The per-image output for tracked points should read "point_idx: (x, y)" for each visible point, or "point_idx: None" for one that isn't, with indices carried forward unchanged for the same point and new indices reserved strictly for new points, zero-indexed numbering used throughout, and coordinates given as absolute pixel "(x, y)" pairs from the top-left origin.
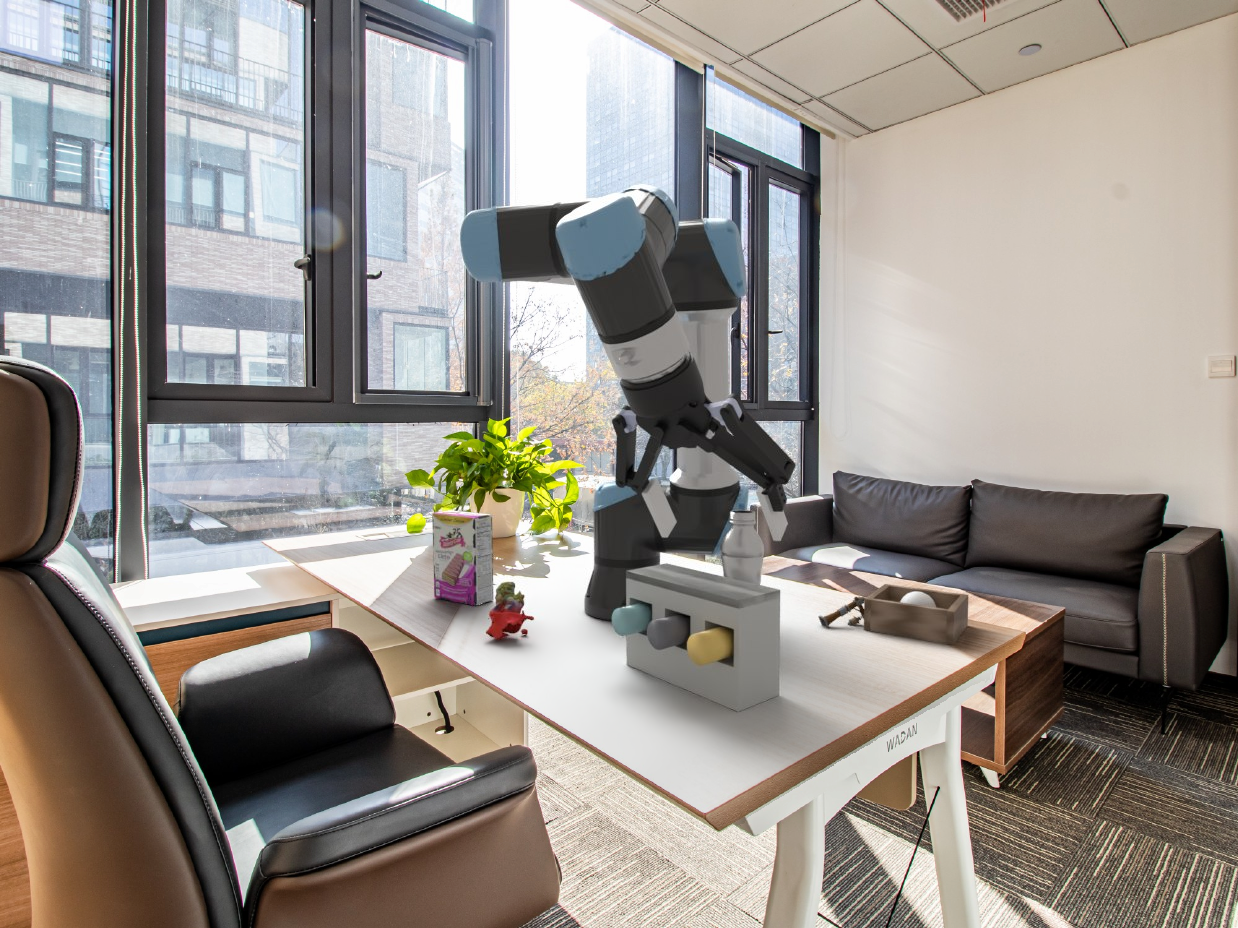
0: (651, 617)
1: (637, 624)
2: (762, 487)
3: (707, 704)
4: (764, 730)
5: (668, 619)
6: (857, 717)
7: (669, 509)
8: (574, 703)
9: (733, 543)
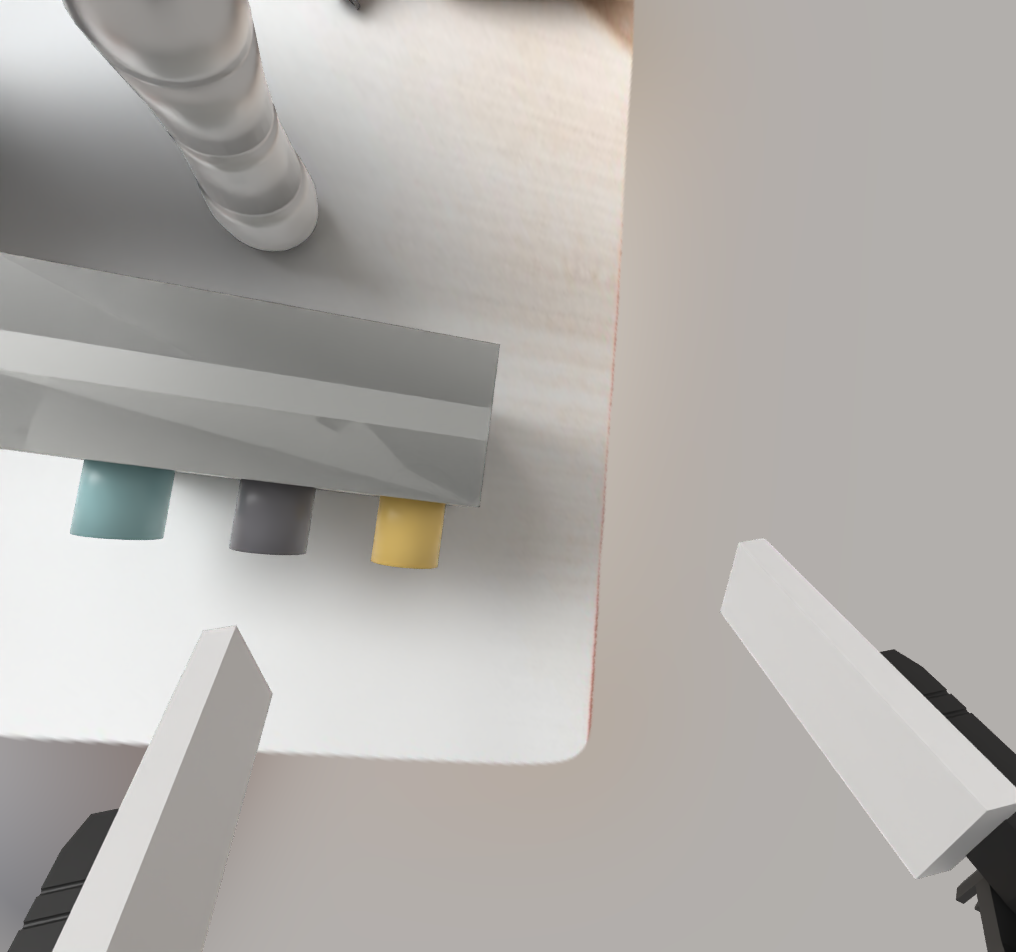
0: None
1: (165, 511)
2: (979, 894)
3: None
4: (521, 533)
5: (272, 523)
6: (595, 402)
7: (208, 718)
8: None
9: (149, 37)
